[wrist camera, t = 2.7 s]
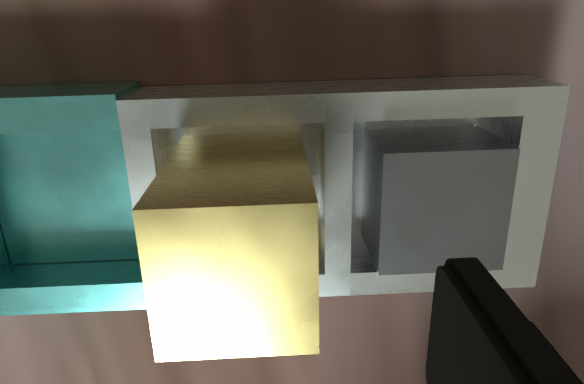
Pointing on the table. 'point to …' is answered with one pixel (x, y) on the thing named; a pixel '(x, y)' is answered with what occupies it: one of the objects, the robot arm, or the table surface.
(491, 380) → the robot arm
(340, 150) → the rail
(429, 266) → the grey hollow block
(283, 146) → the wooden block
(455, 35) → the table surface
